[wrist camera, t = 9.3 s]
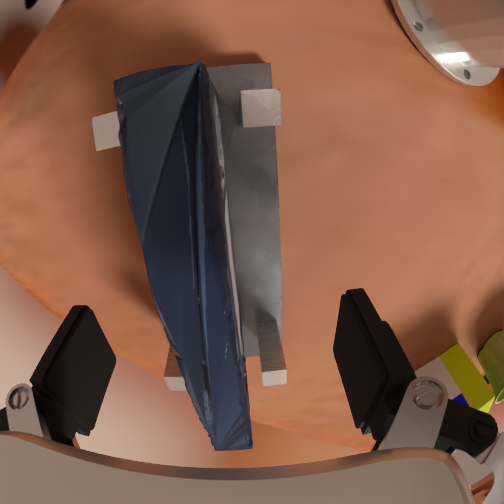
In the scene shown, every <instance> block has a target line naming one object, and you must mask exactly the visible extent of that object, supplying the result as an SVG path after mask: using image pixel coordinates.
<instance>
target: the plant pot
mask: <svg viewBox="0 0 504 504" xmlns="http://www.w3.org/2000/svg"><path fill="white" fill-rule="evenodd" d="M478 360H479V362H480V364H481V366H482V368H483V370H484V372H485V374H486V376H487V378H488V380H489V382H490V384H491V386H492V388H493V393H494V395H495V403H500V402H501V401H503V400H504V331H503V330H502V331H498V332H496V333H495V334H493V335H492V336H491V337H490V338H489V339H488V340H487V341H486V343H485V344H484V347H483V349H482V350H481V351H480V352H479V354H478Z"/></svg>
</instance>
